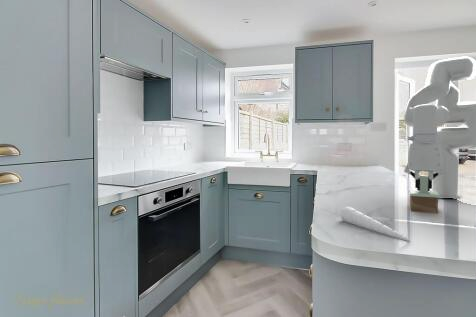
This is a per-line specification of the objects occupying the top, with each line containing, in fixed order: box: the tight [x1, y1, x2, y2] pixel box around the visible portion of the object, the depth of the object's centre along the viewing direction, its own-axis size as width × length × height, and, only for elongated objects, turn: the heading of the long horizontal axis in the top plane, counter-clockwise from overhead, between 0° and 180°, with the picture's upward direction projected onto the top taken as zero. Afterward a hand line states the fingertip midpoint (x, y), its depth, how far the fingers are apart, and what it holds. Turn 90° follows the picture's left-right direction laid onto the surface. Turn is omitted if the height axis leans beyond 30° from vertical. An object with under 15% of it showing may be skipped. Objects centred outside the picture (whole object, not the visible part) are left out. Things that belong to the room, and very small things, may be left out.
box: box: [409, 195, 439, 214], centre depth 111 cm, size 11×8×6 cm
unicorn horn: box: [339, 206, 411, 242], centre depth 87 cm, size 5×24×5 cm, turn 17°
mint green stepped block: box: [408, 174, 440, 199], centre depth 111 cm, size 12×9×8 cm
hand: (423, 190), depth 111 cm, fingers closed on mint green stepped block
